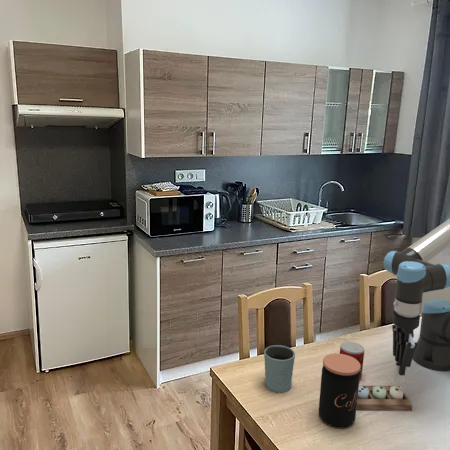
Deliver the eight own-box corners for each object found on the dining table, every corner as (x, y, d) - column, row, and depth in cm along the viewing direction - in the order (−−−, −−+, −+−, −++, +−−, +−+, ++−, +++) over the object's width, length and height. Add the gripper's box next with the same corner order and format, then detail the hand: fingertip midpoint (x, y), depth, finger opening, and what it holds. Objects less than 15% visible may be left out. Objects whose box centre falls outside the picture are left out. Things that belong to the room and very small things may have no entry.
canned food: (362, 383, 149) (365, 353, 146) (338, 380, 150) (341, 350, 148) (360, 371, 156) (363, 343, 154) (337, 368, 158) (339, 340, 155)
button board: (398, 391, 145) (399, 385, 144) (411, 410, 135) (412, 404, 135) (347, 390, 144) (347, 385, 144) (356, 410, 135) (357, 404, 134)
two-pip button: (382, 394, 142) (383, 385, 141) (387, 402, 138) (388, 392, 137) (370, 394, 141) (371, 385, 141) (374, 402, 138) (375, 392, 137)
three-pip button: (365, 394, 141) (366, 385, 141) (369, 402, 137) (370, 392, 137) (353, 394, 141) (354, 385, 140) (357, 402, 137) (358, 392, 137)
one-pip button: (399, 395, 142) (400, 385, 141) (404, 402, 138) (405, 393, 137) (387, 394, 142) (388, 385, 141) (391, 402, 138) (393, 392, 137)
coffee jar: (332, 433, 124) (338, 376, 120) (311, 410, 134) (315, 357, 130) (362, 424, 128) (368, 368, 124) (339, 402, 138) (344, 350, 134)
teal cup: (281, 397, 140) (283, 363, 137) (256, 384, 146) (257, 352, 144) (298, 384, 147) (301, 352, 144) (274, 372, 154) (276, 341, 151)
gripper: (386, 303, 139) (379, 370, 145) (403, 322, 127) (395, 394, 132) (409, 303, 140) (402, 370, 145) (429, 322, 127) (420, 394, 132)
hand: (398, 381), depth 139 cm, fingers closed
